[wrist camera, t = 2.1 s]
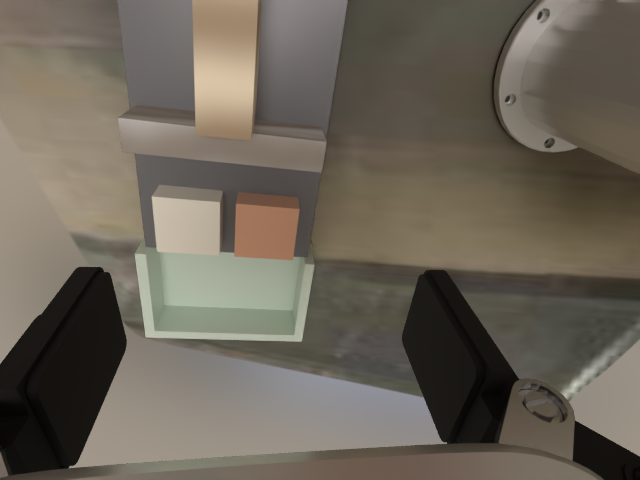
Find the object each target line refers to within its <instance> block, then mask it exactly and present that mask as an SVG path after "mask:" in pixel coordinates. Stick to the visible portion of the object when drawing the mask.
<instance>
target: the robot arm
mask: <svg viewBox="0 0 640 480" xmlns="http://www.w3.org/2000/svg"><path fill="white" fill-rule="evenodd" d="M538 13H539V15H538ZM537 15H538V17H537ZM506 97H507V98H506ZM505 99H506V100H505ZM494 102H495V108H496V113H497V115H498V118H499V120H500V122H501V125H502V126H503V128H504V129H505V130H506V132H507V133H508V134H509V135H510V136H511V137H512V138H514V139H515V140H516V141H517V142H519V143H521V144H523V145H525V146H526V147H528V148H531V149H534V150H537V151H541V152H553V153H555V152H563V151H569V150H573V149H576V148H579V147H580V148H582V149H584V150H586V151H589V152H591V153H593V154H595V155H597V156H600V157H602V158H604V159H606V160H608V161H611V162H613V163H615V164H617V165H620V166H622V167H624V168H626V169H628V170H631V171H633V172H635V173H637V174H639V175H640V0H536V1H535V2H534V3H533V4H532V5H531V6H530V7H529V8H528V9H527V10H526V12H525V13H524V14H523V16H522V17H521V19H520V20H519V21H518V23H517V24H516V26H515V27H514V28H513V30H512V32H511V34H510V36H509V38H508V40H507V42H506V43H505V45H504V48H503V50H502V53H501V56H500V59H499V62H498V64H497V69H496V75H495V80H494ZM126 341H127V340H126V335H125V331H124V327H123V323H122V319H121V315H120V311H119V307H118V303H117V299H116V295H115V291H114V287H113V283H112V279H111V275H110V273H108V272H104V270H103V269H102V268H101V267H78V268H76V270H75V271H74V272H73V273H72V275H71V276H70V277H69V279H68V280H67V281H66V283H65V284H64V285H63V287H62V288H61V289H60V291H59V292H58V293H57V294H56V296H55V297H54V298H53V300H52V301H51V302H50V304H49V305H48V306H47V308H46V309H45V310H44V312H43V313H42V314H41V315H39V316H38V317H37V318H36V319H35V320H34V321H33V322H32V323H31V325H30V326H29V327H28V329H27V330H26V331H25V333H24V334H23V335H22V336H21V338H20V339H19V340H18V342H17V343H16V344H15V346H14V347H13V348H12V350H11V351H10V352H9V353H8V355H7V356H6V358H5V359H4V360H3V361H2V363H1V364H0V480H640V457H639V456H637V455H636V454H634V453H632V452H630V451H629V450H627V449H625V448H623V447H622V446H620V445H618V444H616V443H614V442H613V441H611V440H609V439H607V438H605V437H604V436H602V435H600V434H598V433H596V432H595V431H593V430H591V429H589V428H588V427H586V426H584V425H582V424H580V423H579V422H577V421H575V416H574V411H573V409H572V407H571V405H570V403H569V402H568V400H567V399H566V398H565V397H564V396H563V395H562V394H561V393H560V392H559V391H557V390H556V389H555V388H553V387H552V386H550V385H548V384H546V383H544V382H542V381H539V380H536V379H530V378H525V379H520V380H519V378H518V377H517V375H516V374H515V373H514V371H513V370H512V368H511V367H510V365H509V364H508V362H507V361H506V359H505V358H504V356H503V355H502V353H501V352H500V350H499V349H498V347H497V346H496V344H495V343H494V341H493V340H492V338H491V337H490V335H489V334H488V333H487V331H486V330H485V328H484V327H483V325H482V324H481V322H480V321H479V319H478V318H477V316H476V315H475V313H474V312H473V310H472V309H471V308H470V306H469V305H468V303H467V302H466V300H465V299H464V297H463V296H462V294H461V293H460V291H459V290H458V288H457V287H456V285H455V284H454V282H453V281H452V279H451V278H450V276H449V275H448V273H447V272H446V271H444V270H426V271H425V272H424V274H421V275H420V276H419V278H418V282H417V285H416V289H415V292H414V296H413V299H412V303H411V306H410V310H409V313H408V316H407V320H406V323H405V327H404V330H403V334H402V342H403V346H404V348H405V351H406V353H407V356H408V358H409V361H410V363H411V366H412V368H413V371H414V374H415V376H416V379H417V381H418V384H419V386H420V389H421V391H422V394H423V396H424V399H425V401H426V404H427V406H428V409H429V411H430V413H431V416H432V419H433V421H434V424H435V426H436V429H437V431H438V434H439V436H440V438H441V440H442V441H443V442H447V444H436V445H414V446H396V447H379V448H361V449H345V450H327V451H311V452H295V453H279V454H263V455H247V456H232V457H217V458H202V459H187V460H174V461H158V462H144V463H129V464H117V465H104V466H93V467H80V468H69V466H74V465H75V464H76V463H77V462H78V460H79V457H80V455H81V453H82V451H83V448H84V446H85V444H86V441H87V439H88V436H89V434H90V432H91V430H92V427H93V425H94V423H95V420H96V418H97V416H98V413H99V411H100V409H101V406H102V404H103V402H104V399H105V397H106V395H107V392H108V390H109V388H110V385H111V383H112V381H113V378H114V376H115V374H116V371H117V369H118V367H119V364H120V362H121V360H122V357H123V355H124V353H125V350H126V343H127V342H126ZM68 468H69V469H68Z"/></svg>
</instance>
